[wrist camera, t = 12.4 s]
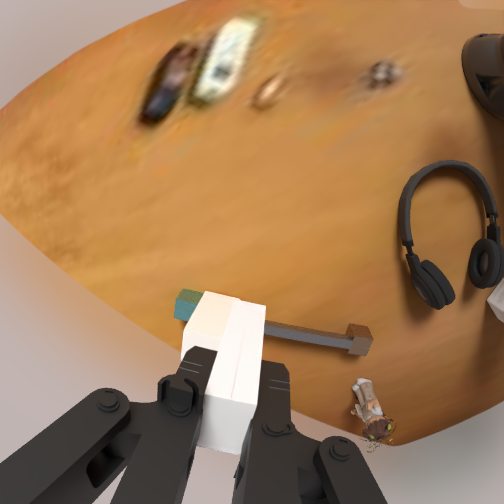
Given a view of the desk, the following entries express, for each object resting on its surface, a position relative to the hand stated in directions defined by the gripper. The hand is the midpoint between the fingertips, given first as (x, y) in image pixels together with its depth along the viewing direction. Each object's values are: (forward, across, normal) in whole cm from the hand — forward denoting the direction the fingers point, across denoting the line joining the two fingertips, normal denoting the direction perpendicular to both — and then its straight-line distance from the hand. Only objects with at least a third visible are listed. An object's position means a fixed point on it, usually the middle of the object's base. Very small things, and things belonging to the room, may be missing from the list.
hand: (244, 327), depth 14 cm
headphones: (+27, +26, +6) cm, 38 cm away
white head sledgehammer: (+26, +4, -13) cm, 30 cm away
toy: (+27, +22, -23) cm, 41 cm away
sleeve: (+26, -4, -13) cm, 29 cm away
